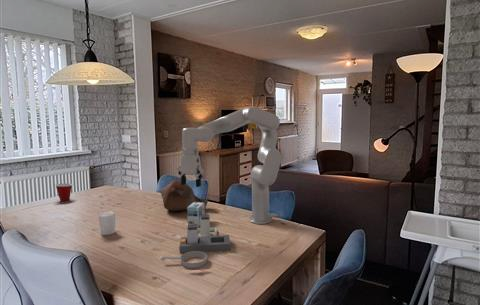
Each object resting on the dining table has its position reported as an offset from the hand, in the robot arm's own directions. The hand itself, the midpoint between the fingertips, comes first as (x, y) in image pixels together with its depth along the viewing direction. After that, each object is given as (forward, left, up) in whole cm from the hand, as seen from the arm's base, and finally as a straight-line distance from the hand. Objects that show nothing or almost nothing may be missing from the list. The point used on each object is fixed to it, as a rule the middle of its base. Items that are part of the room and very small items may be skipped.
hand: (190, 185), depth 159 cm
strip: (-7, +23, -24) cm, 34 cm away
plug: (-7, +9, -24) cm, 26 cm away
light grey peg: (-1, +23, -23) cm, 33 cm away
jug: (+6, -36, -24) cm, 44 cm away
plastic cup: (+93, -71, -24) cm, 119 cm away
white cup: (+43, -3, -24) cm, 50 cm away
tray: (-7, +9, -24) cm, 27 cm away
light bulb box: (-2, -11, -24) cm, 27 cm away
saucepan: (+1, +37, -24) cm, 45 cm away
